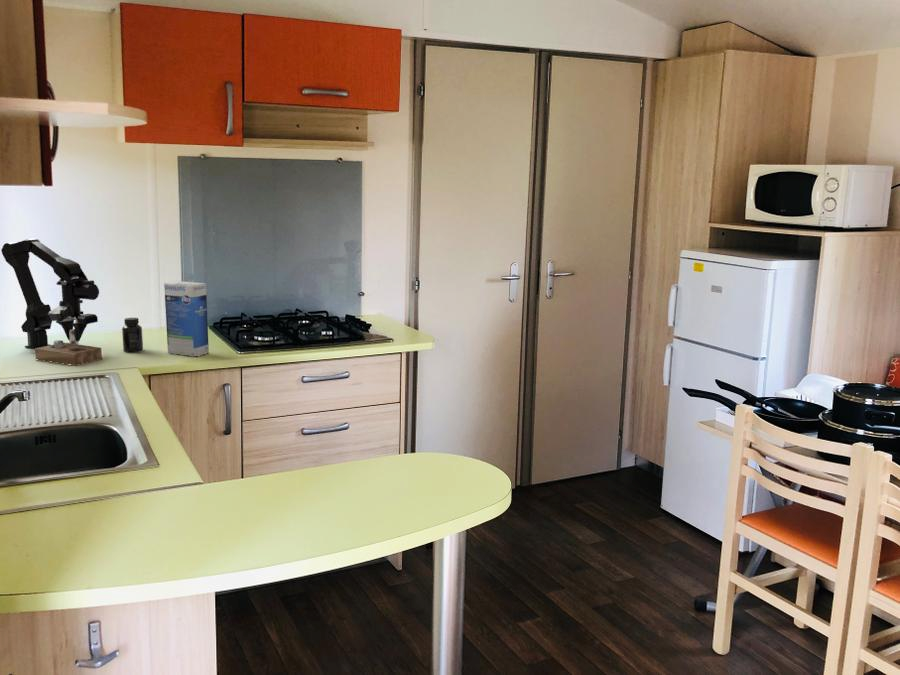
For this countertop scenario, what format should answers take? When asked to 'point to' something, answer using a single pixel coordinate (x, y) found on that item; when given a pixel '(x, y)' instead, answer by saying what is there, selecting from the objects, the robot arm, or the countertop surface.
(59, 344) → the short grey peg
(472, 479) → the countertop surface
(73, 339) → the steel pin
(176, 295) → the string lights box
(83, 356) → the hole block
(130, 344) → the supplement bottle
